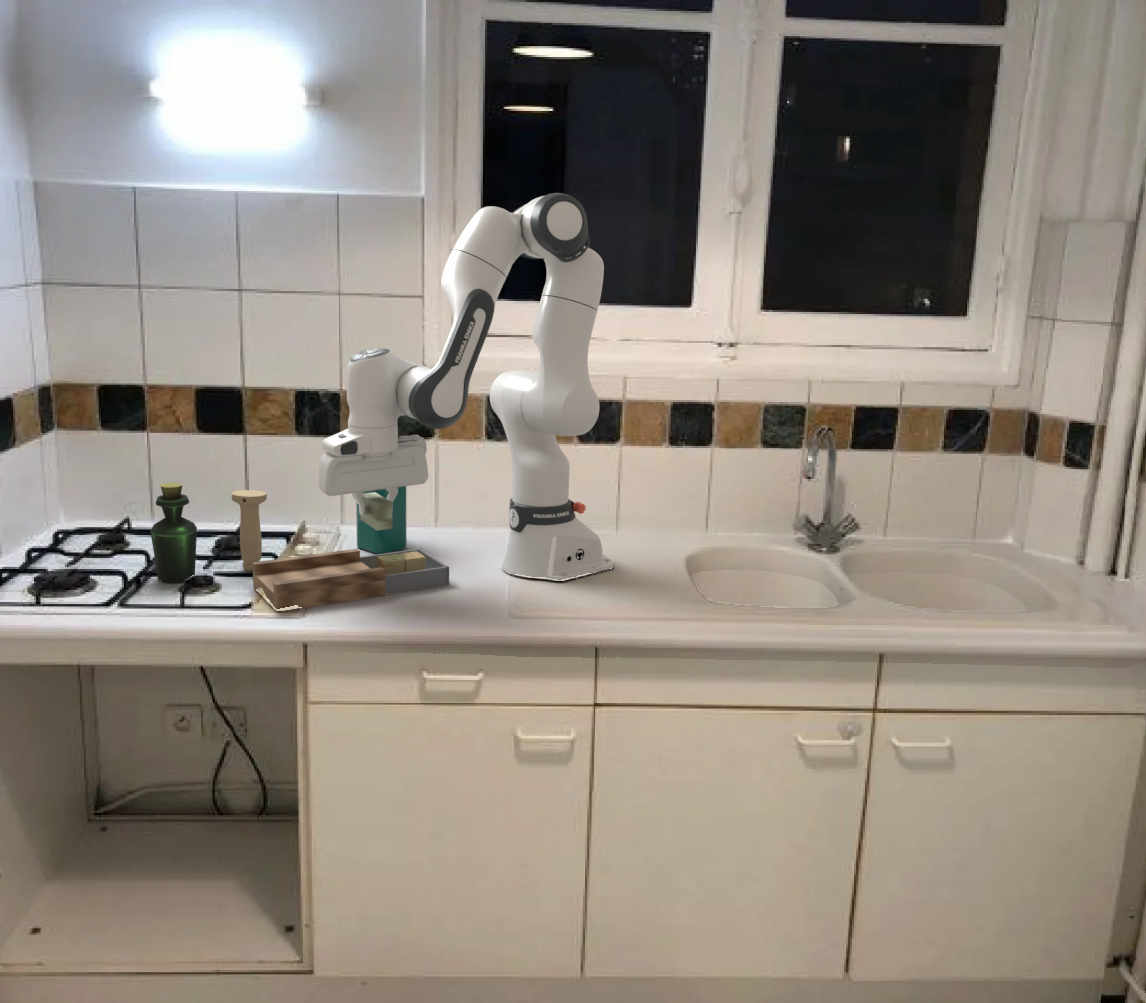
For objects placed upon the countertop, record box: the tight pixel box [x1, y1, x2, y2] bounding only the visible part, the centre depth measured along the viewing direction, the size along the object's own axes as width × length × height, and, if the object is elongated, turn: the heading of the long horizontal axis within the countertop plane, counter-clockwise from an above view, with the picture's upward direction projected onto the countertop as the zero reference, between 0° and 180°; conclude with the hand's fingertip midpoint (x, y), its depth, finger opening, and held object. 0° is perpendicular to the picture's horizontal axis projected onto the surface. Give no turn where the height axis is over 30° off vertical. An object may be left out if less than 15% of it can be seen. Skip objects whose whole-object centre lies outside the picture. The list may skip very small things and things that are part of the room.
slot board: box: [252, 548, 387, 609], centre depth 198 cm, size 20×14×5 cm
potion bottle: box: [150, 481, 198, 585], centre depth 201 cm, size 8×8×18 cm
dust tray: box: [360, 548, 450, 595], centre depth 207 cm, size 13×13×4 cm
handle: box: [230, 489, 268, 572], centre depth 208 cm, size 5×6×15 cm
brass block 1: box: [377, 554, 405, 575], centre depth 205 cm, size 4×4×4 cm
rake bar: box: [360, 492, 392, 530], centre depth 201 cm, size 3×8×5 cm, turn 32°
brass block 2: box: [398, 551, 425, 572], centre depth 207 cm, size 4×4×4 cm
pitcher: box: [355, 486, 408, 555], centre depth 224 cm, size 10×8×22 cm
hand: (375, 512), depth 201 cm, fingers closed on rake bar, 3 cm apart
